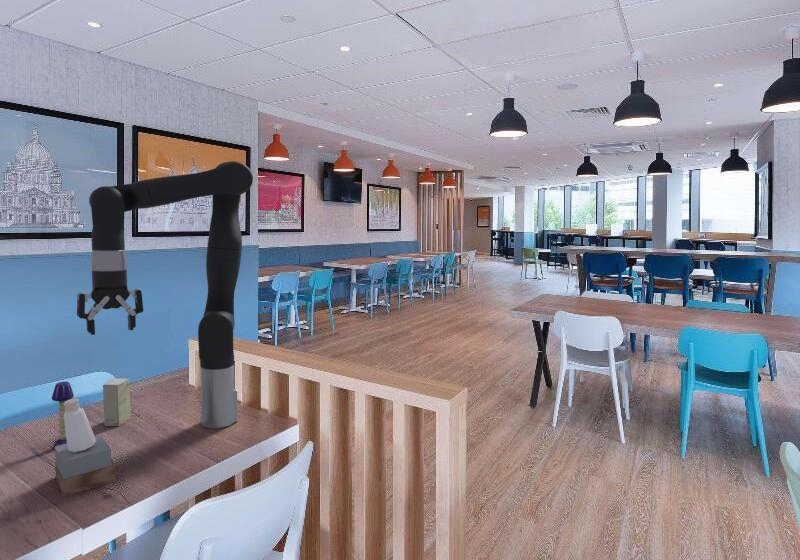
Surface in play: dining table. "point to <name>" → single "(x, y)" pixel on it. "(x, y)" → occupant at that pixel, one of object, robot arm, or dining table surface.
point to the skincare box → (116, 402)
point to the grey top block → (83, 459)
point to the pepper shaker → (77, 427)
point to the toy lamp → (62, 408)
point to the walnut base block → (86, 479)
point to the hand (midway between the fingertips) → (112, 332)
